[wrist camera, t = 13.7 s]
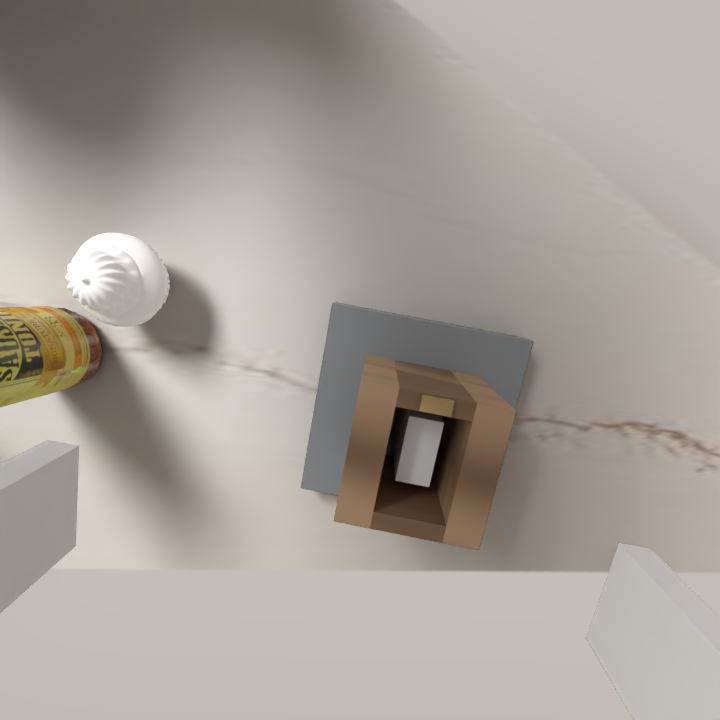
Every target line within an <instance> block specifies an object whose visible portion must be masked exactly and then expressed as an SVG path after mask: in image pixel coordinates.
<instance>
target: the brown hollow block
mask: <svg viewBox="0 0 720 720" xmlns="http://www.w3.org/2000/svg"><path fill="white" fill-rule="evenodd" d="M395 407H400V408H405V409H410V410H415V411H420V412H426V413H431V414H436V415H441V417H442V419H443V421H444V426H443V430H442V434H441V439H440V443H439V447H438V451H437V456H436V460H435V464H434V468H433V473H432V477H431V481H430V485H429V487H425V486H420V485H415V484H410V483H405V482H400V481H395V471H394V458H393V455H388V454H386V449H387V444H388V440H389V435H390V430H391V426H392V421H393V416H394V411H395ZM515 414H516V410H515V409H514V408H513V407H512V406H511V405H510V404H509V403H508V402H507V401H505V400H504V399H503V398H502V397H501V396H500V395H499V394H498V393H497V392H496V391H495V390H493V389H492V388H491V387H490V386H489V385H488V384H487V383H486V382H485V381H484V380H483V379H481V378H480V377H479V376H476V375H471V374H466V373H461V372H455V371H450V370H445V369H440V368H435V367H429V366H424V365H419V364H414V363H409V362H403V361H398V360H393V359H388V358H383V357H377V356H372V355H367V354H366V357H365V362H364V367H363V372H362V376H361V381H360V386H359V392H358V397H357V402H356V407H355V412H354V418H353V423H352V428H351V433H350V439H349V444H348V449H347V454H346V459H345V465H344V470H343V475H342V480H341V485H340V491H339V496H338V501H337V506H336V511H335V517H334V521H335V522H340V523H345V524H350V525H355V526H360V527H365V528H370V529H375V530H380V531H385V532H390V533H395V534H400V535H405V536H410V537H416V538H421V539H426V540H431V541H436V542H441V543H446V544H451V545H456V546H461V547H466V548H471V549H476V550H479V547H480V544H481V540H482V536H483V533H484V529H485V525H486V522H487V518H488V514H489V510H490V507H491V503H492V499H493V496H494V492H495V488H496V485H497V481H498V477H499V474H500V470H501V466H502V462H503V459H504V455H505V451H506V448H507V444H508V440H509V437H510V433H511V429H512V425H513V422H514V418H515Z"/></svg>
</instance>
